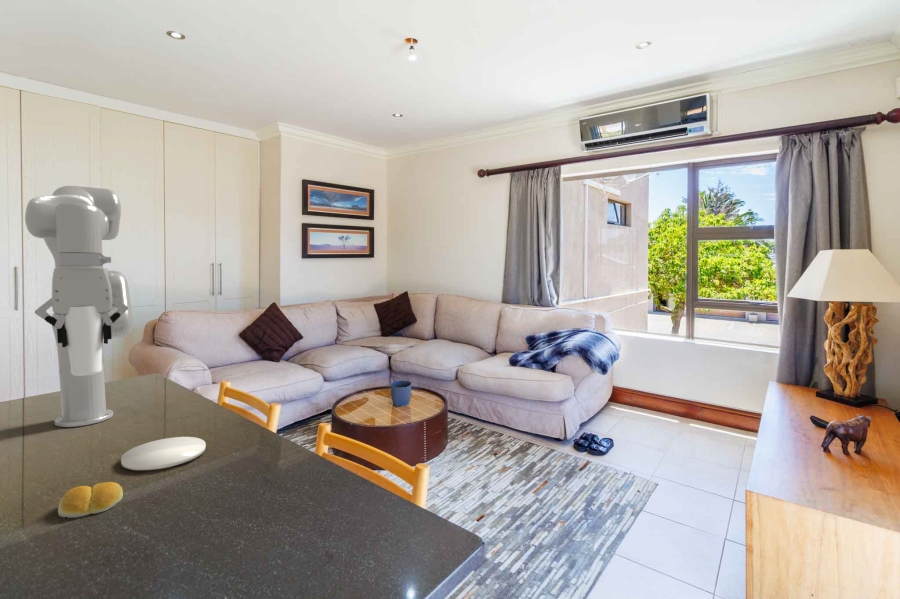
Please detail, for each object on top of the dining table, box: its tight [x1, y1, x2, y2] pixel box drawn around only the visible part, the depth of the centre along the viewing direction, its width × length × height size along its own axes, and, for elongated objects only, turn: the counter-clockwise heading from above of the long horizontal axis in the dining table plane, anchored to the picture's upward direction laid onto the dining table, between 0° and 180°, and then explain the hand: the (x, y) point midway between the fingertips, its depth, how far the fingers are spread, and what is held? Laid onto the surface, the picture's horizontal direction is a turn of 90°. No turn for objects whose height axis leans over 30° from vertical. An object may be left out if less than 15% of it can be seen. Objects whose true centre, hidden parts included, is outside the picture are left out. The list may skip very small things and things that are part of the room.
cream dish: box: [120, 436, 207, 471], centre depth 102 cm, size 16×16×2 cm
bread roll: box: [57, 481, 124, 519], centre depth 81 cm, size 8×9×4 cm
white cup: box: [64, 306, 104, 376], centre depth 99 cm, size 7×7×15 cm
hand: (85, 343), depth 99 cm, fingers closed on white cup, 6 cm apart
